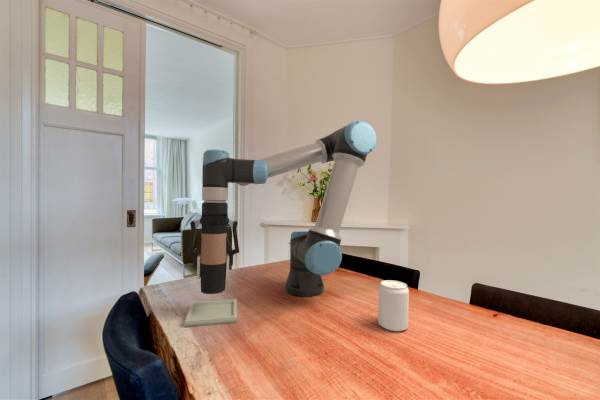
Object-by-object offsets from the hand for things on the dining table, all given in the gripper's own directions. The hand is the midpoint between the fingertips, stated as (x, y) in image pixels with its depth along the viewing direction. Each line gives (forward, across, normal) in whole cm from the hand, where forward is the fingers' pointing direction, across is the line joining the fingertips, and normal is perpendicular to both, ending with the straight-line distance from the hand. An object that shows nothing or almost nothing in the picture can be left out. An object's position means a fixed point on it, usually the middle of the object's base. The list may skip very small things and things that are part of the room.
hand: (213, 276), depth 83 cm
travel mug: (+4, 0, 0) cm, 4 cm away
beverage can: (+11, -50, +18) cm, 55 cm away
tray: (+11, 0, 0) cm, 11 cm away
